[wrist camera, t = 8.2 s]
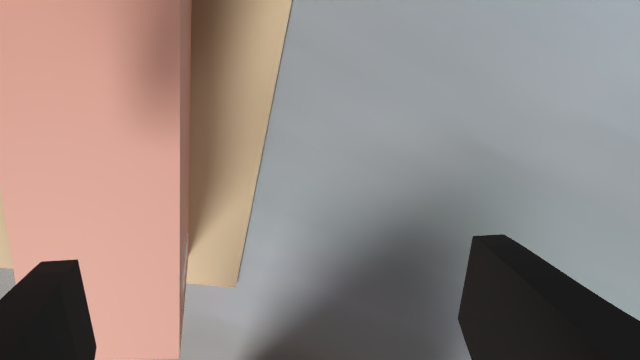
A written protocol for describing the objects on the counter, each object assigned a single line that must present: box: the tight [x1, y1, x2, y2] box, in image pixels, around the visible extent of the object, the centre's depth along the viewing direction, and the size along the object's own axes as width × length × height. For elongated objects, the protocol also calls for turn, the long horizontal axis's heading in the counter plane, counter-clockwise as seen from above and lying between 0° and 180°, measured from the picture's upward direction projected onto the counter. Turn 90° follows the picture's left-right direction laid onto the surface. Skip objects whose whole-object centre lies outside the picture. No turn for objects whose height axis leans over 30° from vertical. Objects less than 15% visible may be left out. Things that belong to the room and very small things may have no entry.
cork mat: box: [0, 0, 292, 287], centre depth 18 cm, size 9×13×1 cm
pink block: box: [0, 0, 192, 360], centre depth 16 cm, size 4×11×5 cm, turn 173°
